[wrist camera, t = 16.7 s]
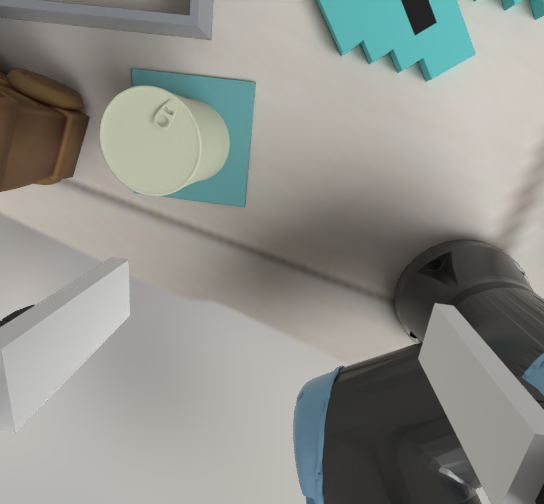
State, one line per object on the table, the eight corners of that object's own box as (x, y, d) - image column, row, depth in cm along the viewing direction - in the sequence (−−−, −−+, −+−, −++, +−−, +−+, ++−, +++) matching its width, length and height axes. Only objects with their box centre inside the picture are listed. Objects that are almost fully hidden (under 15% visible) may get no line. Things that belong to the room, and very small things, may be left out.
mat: (244, 206, 43) (244, 207, 42) (135, 192, 44) (134, 192, 43) (255, 82, 38) (255, 82, 38) (133, 69, 39) (131, 68, 39)
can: (245, 132, 40) (221, 131, 28) (202, 196, 42) (165, 218, 31) (178, 81, 39) (126, 58, 27) (139, 149, 41) (77, 154, 30)
